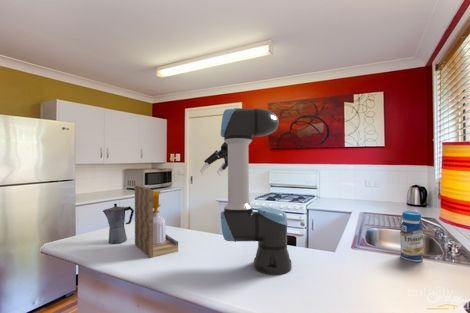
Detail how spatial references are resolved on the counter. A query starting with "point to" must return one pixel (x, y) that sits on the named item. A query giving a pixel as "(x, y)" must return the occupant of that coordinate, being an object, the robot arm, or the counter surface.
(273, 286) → the counter surface
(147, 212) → the cleat shelf
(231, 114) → the robot arm
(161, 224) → the soap bottle
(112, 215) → the moka pot
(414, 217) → the beverage bottle
